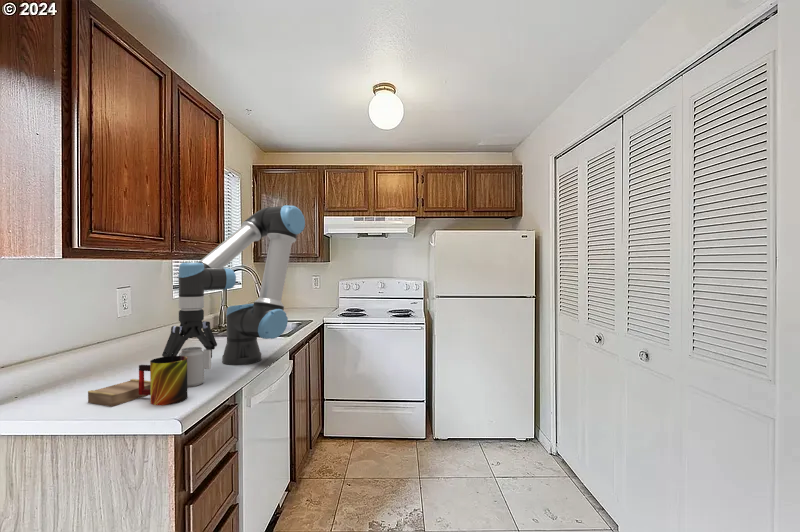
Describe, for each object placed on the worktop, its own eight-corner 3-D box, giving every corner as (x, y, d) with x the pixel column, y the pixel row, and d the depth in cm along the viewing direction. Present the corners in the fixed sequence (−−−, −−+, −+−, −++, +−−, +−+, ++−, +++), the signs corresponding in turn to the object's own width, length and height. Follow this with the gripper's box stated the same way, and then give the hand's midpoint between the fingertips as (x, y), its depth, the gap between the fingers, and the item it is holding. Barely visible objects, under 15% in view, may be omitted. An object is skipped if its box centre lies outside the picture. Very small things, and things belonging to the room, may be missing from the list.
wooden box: (133, 389, 140) (133, 378, 140) (156, 392, 136) (155, 382, 136) (88, 402, 127) (87, 391, 126) (112, 406, 123) (111, 395, 123)
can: (194, 388, 141) (194, 351, 140) (174, 386, 142) (173, 350, 142) (209, 381, 148) (208, 346, 148) (189, 380, 150) (189, 345, 149)
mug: (139, 397, 131) (139, 357, 131) (190, 393, 135) (189, 354, 135) (129, 408, 122) (129, 365, 122) (184, 403, 126) (183, 362, 126)
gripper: (211, 305, 158) (211, 364, 158) (149, 312, 134) (149, 381, 135) (227, 306, 155) (227, 366, 155) (167, 313, 132) (167, 384, 132)
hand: (191, 373), depth 145 cm, fingers open, 13 cm apart
